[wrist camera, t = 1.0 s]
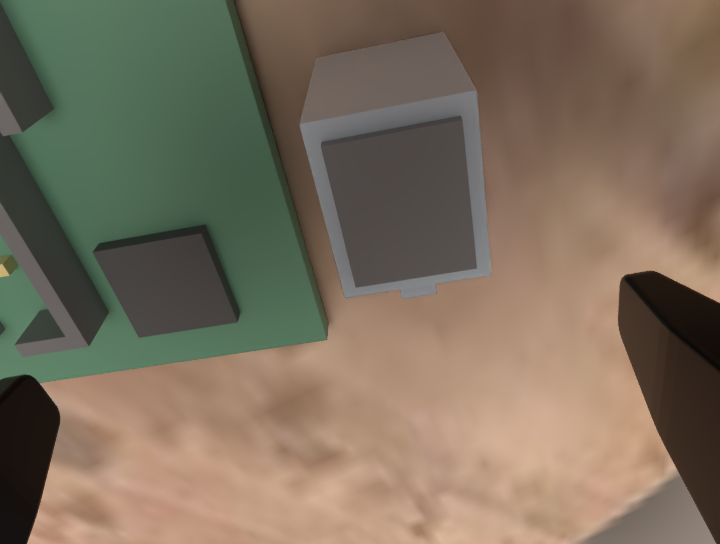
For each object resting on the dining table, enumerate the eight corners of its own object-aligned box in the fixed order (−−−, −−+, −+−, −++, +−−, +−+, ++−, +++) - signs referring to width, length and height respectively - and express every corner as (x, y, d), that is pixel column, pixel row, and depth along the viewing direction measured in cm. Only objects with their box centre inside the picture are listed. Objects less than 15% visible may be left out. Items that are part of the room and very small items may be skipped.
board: (202, -105, 15) (172, -102, 13) (328, 324, 24) (324, 375, 21) (-305, 18, 17) (-417, 41, 15) (-21, 377, 26) (-62, 430, 23)
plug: (443, 31, 17) (479, 94, 12) (461, 196, 21) (495, 302, 15) (315, 57, 18) (297, 129, 13) (352, 215, 21) (349, 324, 16)
